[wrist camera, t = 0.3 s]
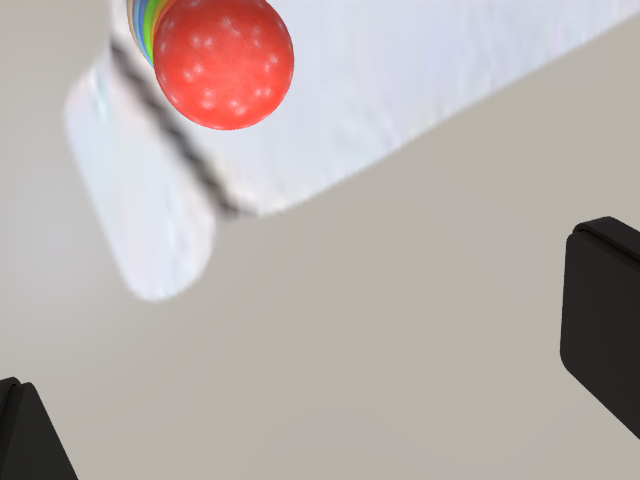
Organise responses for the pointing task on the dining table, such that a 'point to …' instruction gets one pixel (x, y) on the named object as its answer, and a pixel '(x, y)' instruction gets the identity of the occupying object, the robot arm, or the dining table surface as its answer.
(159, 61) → the stacking toy
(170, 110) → the dining table surface
